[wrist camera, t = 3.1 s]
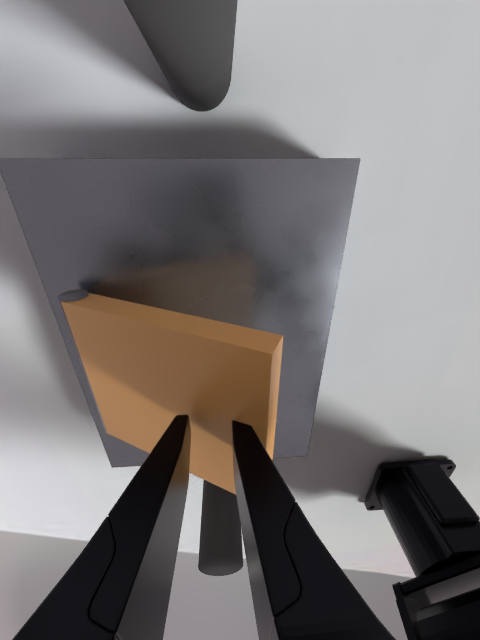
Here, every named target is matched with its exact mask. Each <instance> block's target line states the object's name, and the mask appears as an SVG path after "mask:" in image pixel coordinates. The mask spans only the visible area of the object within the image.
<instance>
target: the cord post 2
mask: <svg viewBox="0 0 480 640" xmlns="http://www.w3.org/2000/svg"><path fill="white" fill-rule="evenodd" d="M242 567H243V555H242V536H241V522H240V516H239V509H238V503H237V496H236V495H235V494H233V493H231V492H229V491H227V490H225V489H223V488H221V487H219V486H217V485H215V484H212V483H210V482H208V481H206V480H204V484H203V500H202V516H201V532H200V548H199V564H198V568H199V570H200V571H201V572H202V573H204V574H207V575H212V576H224V575H229V574H233V573H235V572H237V571H239V570H240V569H241V568H242Z"/></svg>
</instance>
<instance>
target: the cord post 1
mask: <svg viewBox="0 0 480 640" xmlns="http://www.w3.org/2000/svg"><path fill="white" fill-rule="evenodd" d="M124 2H125V4H126V5H127V7H128V9H129V11H130V13H131V15H132V16H133V18H134V20H135V22H136V24H137V26H138V27H139V29H140V31H141V33H142V35H143V37H144V38H145V40H146V42H147V44H148V46H149V47H150V49H151V51H152V53H153V55H154V57H155V58H156V60H157V62H158V64H159V66H160V68H161V69H162V71H163V73H164V75H165V77H166V78H167V80H168V82H169V84H170V86H171V88H172V89H173V91H174V93H175V95H176V96H177V97H178V99H179V100H180V101H181V102H182V103H183V104H184V105H185V106H187V107H188V108H190V109H192V110H195V111H209V110H211V109H214V108H215V107H217V106H218V105H219V104H220V103H221V102H222V101H223V99H224V98H225V96H226V94H227V92H228V89H229V86H230V81H231V71H232V59H233V47H234V35H235V23H236V11H237V0H124Z"/></svg>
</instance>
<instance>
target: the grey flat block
mask: <svg viewBox="0 0 480 640" xmlns="http://www.w3.org/2000/svg"><path fill="white" fill-rule="evenodd" d="M359 164H360V158H222V159H0V171H1V174H2V177H3V179H4V182H5V185H6V187H7V190H8V192H9V195H10V198H11V200H12V203H13V206H14V208H15V211H16V214H17V216H18V219H19V222H20V224H21V227H22V230H23V232H24V235H25V238H26V240H27V243H28V246H29V248H30V251H31V254H32V256H33V259H34V262H35V264H36V267H37V270H38V272H39V275H40V278H41V280H42V283H43V286H44V288H45V291H46V294H47V296H48V299H49V301H50V304H51V307H52V309H53V312H54V315H55V317H56V320H57V323H58V325H59V328H60V331H61V333H62V336H63V339H64V341H65V344H66V347H67V349H68V352H69V355H70V357H71V360H72V363H73V365H74V368H75V371H76V373H77V376H78V379H79V381H80V384H81V387H82V389H83V392H84V395H85V397H86V400H87V403H88V405H89V408H90V410H91V413H92V416H93V418H94V421H95V424H96V426H97V429H98V432H99V434H100V437H101V440H102V442H103V445H104V448H105V450H106V453H107V456H108V458H109V461H110V464H111V466H112V467H128V466H142V464H143V463H144V461H145V460H146V458H147V457H148V456H149V454H150V453H148V452H146V451H144V450H141V449H139V448H137V447H135V446H133V445H131V444H129V443H127V442H125V441H123V440H121V439H119V438H116V437H114V436H112V435H108V434H106V432H105V429H104V426H103V423H102V421H101V418H100V415H99V412H98V410H97V407H96V404H95V401H94V398H93V396H92V393H91V390H90V387H89V384H88V382H87V379H86V376H85V373H84V370H83V368H82V365H81V362H80V359H79V356H78V354H77V351H76V348H75V345H74V342H73V340H72V337H71V334H70V331H69V328H68V326H67V323H66V320H65V317H64V315H63V312H62V309H61V306H60V303H59V301H58V298H57V296H58V295H59V294H61V293H63V292H66V291H70V290H77V289H83V290H87V291H88V293H92V294H96V295H101V296H105V297H110V298H115V299H119V300H124V301H128V302H133V303H137V304H142V305H147V306H151V307H156V308H160V309H165V310H170V311H174V312H179V313H183V314H188V315H192V316H197V317H202V318H206V319H211V320H215V321H220V322H225V323H229V324H234V325H238V326H243V327H247V328H252V329H257V330H261V331H266V332H270V333H275V334H280V335H283V346H282V357H281V369H280V381H279V392H278V404H277V416H276V427H275V439H274V450H273V458H282V457H299V456H307V452H308V447H309V441H310V436H311V430H312V424H313V419H314V413H315V408H316V402H317V397H318V391H319V386H320V380H321V374H322V369H323V363H324V358H325V352H326V347H327V341H328V336H329V330H330V325H331V319H332V313H333V308H334V302H335V297H336V291H337V286H338V280H339V275H340V269H341V264H342V258H343V252H344V247H345V241H346V236H347V230H348V225H349V219H350V214H351V208H352V203H353V197H354V191H355V186H356V180H357V175H358V169H359Z"/></svg>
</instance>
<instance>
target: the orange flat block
mask: <svg viewBox="0 0 480 640" xmlns="http://www.w3.org/2000/svg"><path fill="white" fill-rule="evenodd" d="M57 298H58V301H59V303H60V306H61V309H62V312H63V315H64V317H65V320H66V323H67V326H68V328H69V331H70V334H71V337H72V340H73V342H74V345H75V348H76V351H77V354H78V356H79V359H80V362H81V365H82V368H83V370H84V373H85V376H86V379H87V382H88V384H89V387H90V390H91V393H92V396H93V398H94V401H95V404H96V407H97V410H98V412H99V415H100V418H101V421H102V423H103V426H104V429H105V432H106V434H108V435H112V436H114V437H116V438H119V439H121V440H123V441H125V442H127V443H129V444H131V445H133V446H135V447H137V448H139V449H141V450H144V451H146V452H148V453H151V451H152V450H153V448H154V447H155V445H156V444H157V442H158V441H159V439H160V438H161V437H162V435H163V434H164V432H165V431H166V429H167V428H168V426H169V425H170V423H171V422H172V420H173V419H174V418H175V416H176V415H182V414H187V415H188V416H189V420H190V428H191V447H190V465H189V473H192V474H194V475H196V476H198V477H200V478H202V479H204V480H206V481H208V482H210V483H212V484H215V485H217V486H219V487H221V488H223V489H225V490H227V491H229V492H231V493H233V494H235V495H236V490H235V483H234V471H233V448H232V420H234V421H238V422H241V423H244V424H248V425H251V426H252V427H253V429H254V431H255V432H256V434H257V436H258V437H259V439H260V441H261V442H262V444H263V446H264V448H265V449H266V451H267V453H268V454H269V456H270V458H271V459H272V461H273V450H274V439H275V427H276V416H277V404H278V392H279V381H280V369H281V357H282V346H283V335H280V334H275V333H270V332H266V331H261V330H257V329H252V328H247V327H243V326H238V325H234V324H229V323H225V322H220V321H215V320H211V319H206V318H202V317H197V316H192V315H188V314H183V313H179V312H174V311H170V310H165V309H160V308H156V307H151V306H147V305H142V304H137V303H133V302H128V301H124V300H119V299H115V298H110V297H105V296H101V295H96V294H92V293H88V291H87V290H83V289H77V290H70V291H66V292H63V293H61V294H59V295H58V296H57Z"/></svg>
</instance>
